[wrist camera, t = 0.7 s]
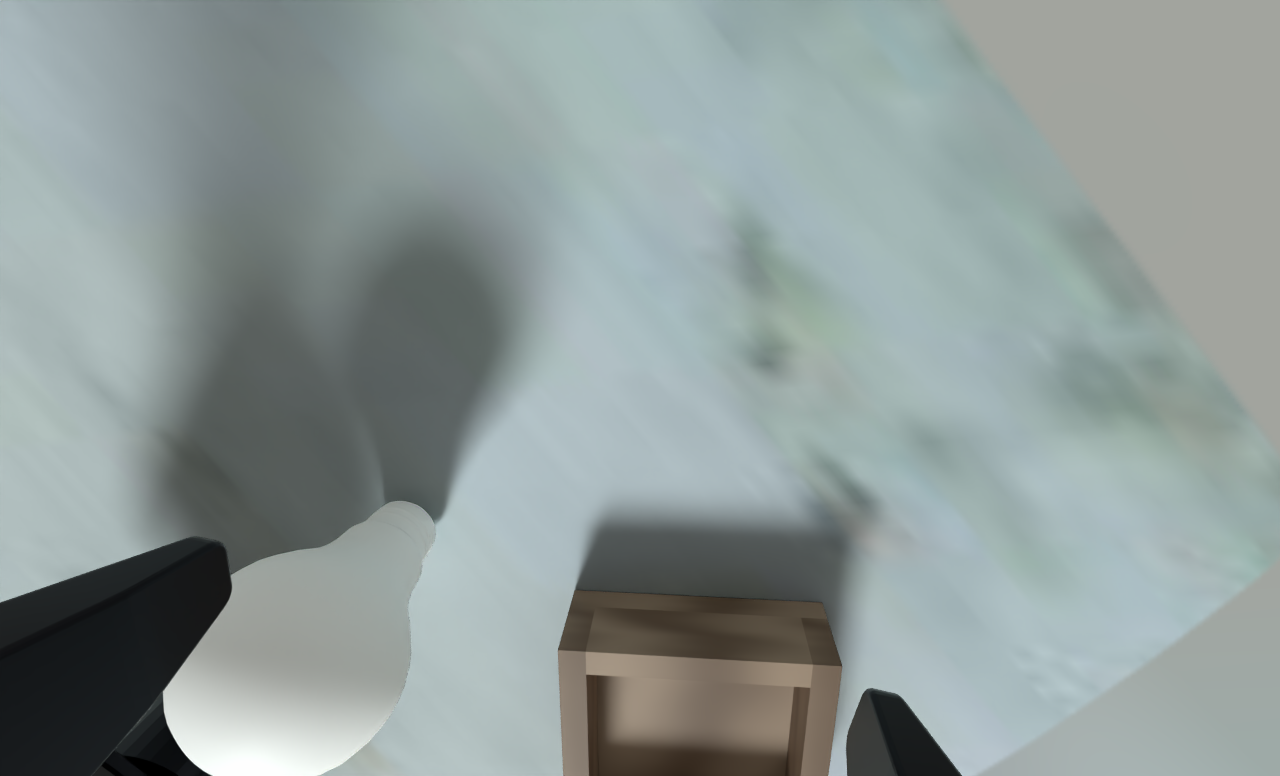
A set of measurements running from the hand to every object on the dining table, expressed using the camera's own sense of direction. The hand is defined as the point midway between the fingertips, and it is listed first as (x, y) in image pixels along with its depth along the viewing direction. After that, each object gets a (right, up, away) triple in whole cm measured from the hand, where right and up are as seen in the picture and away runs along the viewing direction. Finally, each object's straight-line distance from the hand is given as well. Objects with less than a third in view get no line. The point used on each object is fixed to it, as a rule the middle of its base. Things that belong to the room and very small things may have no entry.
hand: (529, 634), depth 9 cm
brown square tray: (+4, -10, +19) cm, 21 cm away
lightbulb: (-8, -2, +17) cm, 19 cm away
